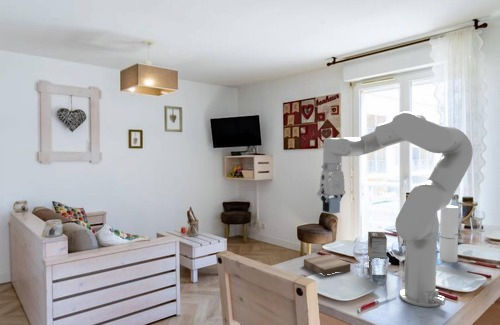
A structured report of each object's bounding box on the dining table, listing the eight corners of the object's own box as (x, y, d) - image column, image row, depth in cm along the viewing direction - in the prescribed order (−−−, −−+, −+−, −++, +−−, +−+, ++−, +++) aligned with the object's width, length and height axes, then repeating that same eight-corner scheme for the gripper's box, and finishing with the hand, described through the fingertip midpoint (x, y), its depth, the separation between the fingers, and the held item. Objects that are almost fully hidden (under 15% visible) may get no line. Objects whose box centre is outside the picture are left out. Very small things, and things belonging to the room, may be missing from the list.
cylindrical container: (461, 261, 154) (462, 207, 153) (449, 263, 152) (451, 208, 150) (446, 256, 161) (448, 204, 160) (435, 258, 158) (437, 205, 157)
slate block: (339, 212, 141) (340, 198, 140) (330, 213, 138) (330, 199, 138) (331, 210, 145) (331, 196, 145) (322, 211, 143) (322, 197, 142)
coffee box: (367, 267, 147) (367, 231, 146) (382, 268, 146) (383, 231, 145) (370, 275, 138) (370, 236, 137) (386, 276, 137) (387, 237, 136)
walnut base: (350, 270, 143) (350, 263, 143) (324, 276, 137) (324, 269, 137) (328, 260, 156) (328, 254, 155) (303, 265, 149) (303, 259, 149)
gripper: (322, 168, 133) (321, 214, 134) (353, 167, 141) (352, 210, 142) (310, 167, 140) (309, 210, 141) (341, 166, 148) (340, 207, 149)
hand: (331, 210), depth 142 cm, fingers closed on slate block, 5 cm apart
